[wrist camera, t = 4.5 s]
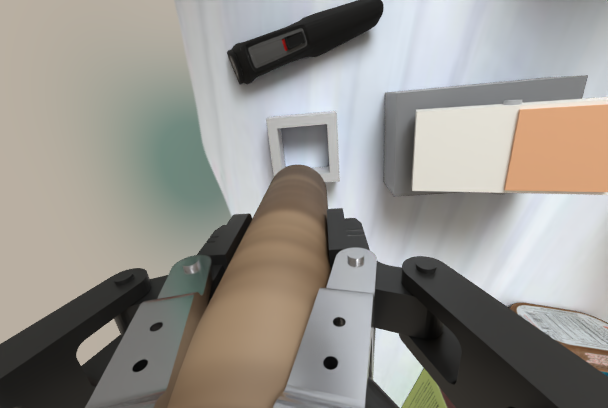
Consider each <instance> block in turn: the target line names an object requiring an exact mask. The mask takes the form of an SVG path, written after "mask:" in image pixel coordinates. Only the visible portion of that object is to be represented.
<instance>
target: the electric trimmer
mask: <svg viewBox="0 0 608 408" xmlns="http://www.w3.org/2000/svg"><path fill="white" fill-rule="evenodd" d="M382 13H383V3H382V1H381V0H358V1H354V2H351V3H348V4H345V5H341V6H338V7H335V8H332V9H328V10H325V11H322V12H319V13H315V14H313V15H310V16H307V17H305V18H303V19H302V20H300V21H298V22H296V23H294V24H292V25H290V26H288V27H285V28H282V29H280V30H277V31H274V32H271V33H268V34H266V35H263V36H260V37H257V38H254V39H252V40H249V41H246V42H243V43H238V44H236V45H235V46H234V47H233V48H232V50H229V51H228V52H227V54H228V57H229V59H230V62H231V64H232V67H233V69H234V72H235V74H236V77H237V80H238V82H239V84H242V83H246V84H249V83H251V82H252V81H253V80H254V79H255V78H256V77H258V76H260V75H262V74H265V73H267V72H269V71H271V70H273V69H276V68H278V67H280V66H283V65H285V64H287V63H290V62H293V61H296V60H299V59H302V58H305V57H316V56H319V55H321V54H323V53H326V52H327V51H329V50H331V49H333V48H335V47H337V46H339V45H341V44H343V43H345V42H347V41H348V40H350V39H352V38H354V37H356V36H358V35H360V34H362V33H364V32H366V31H367V30H369V29H371V28H372V27H374V26H375V25H376V24H377V23H378V21H379V19H380V17H381V15H382ZM235 54H236V55H235ZM241 69H242V70H241Z"/></svg>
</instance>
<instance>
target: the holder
mask: <svg viewBox="0 0 608 408" xmlns="http://www.w3.org/2000/svg"><path fill="white" fill-rule="evenodd" d="M266 122H267V130H268V137H269V144H270V152H271V159H272V167H273V174H274V177H275V175H276V174H277V173H278V172H279V171H280V170H282V169H283V168H285V167H286V166H285V158H284V149H283V141H282V132H281V128H288V127H300V126H312V125H323V124H327V137H328V155H329V166H327V167H313V168H312V169H314V170H315V171H317V172H318V173H319V174H320V175H321V177H322V178H323V180H324V182H339V181H340V178H339V155H338V132H337V113H336V111H329V112H318V113H307V114H295V115H284V116H273V117H269V118H268V119H266Z"/></svg>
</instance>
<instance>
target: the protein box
mask: <svg viewBox="0 0 608 408" xmlns="http://www.w3.org/2000/svg"><path fill="white" fill-rule="evenodd" d="M402 408H456V407H455V406H454V405H453V403H452V402H451V401H450V400H449V398H448V397H447V396H446V395H445V393H444V392H443V391H442V390H441V388H440V387H439V386H438V385H437V383H436V382H435V381H434V380H433V379H432V377H431V376H430V375H429V374H428V372H427V371H426V370H425V369H423V371H422V373H421V375H420V376H419V378H418V380H417V382H416V383H415V385H414V387H413V389H412V390H411V392H410V394H409V396H408V397H407V399H406V401H405V403H404V404H403V406H402Z"/></svg>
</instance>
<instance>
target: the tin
mask: <svg viewBox="0 0 608 408" xmlns="http://www.w3.org/2000/svg"><path fill="white" fill-rule="evenodd" d="M509 309H511V310H512V311H514V312H515V313H517V314H518V315H520V316H521V317H522V318H524V319H525V320H527V321H528V322H530V323H531V324H533V325H534V326H536V327H537V328H538V329H540V330H541V331H543V332H544V333H546V334H547V335H549V336H550V337H551V338H553V339H554V340H556V341H557V342H559V343H560V344H562V345H563V346H564V347H566V348H567V349H569V350H570V351H572V352H573V353H575V354H576V355H577V356H579V357H580V358H582V359H583V360H585V361H586V362H588V363H589V364H591V365H592V366H593V367H595V368H596V369H598V370H599V371H601V372H608V323H607V322H605V321H603V320H600V319H598V318H596V317H593V316H590V315H588V314H585V313H581V312H577V311H571V310H565V309H559V308H553V307H547V306H541V305H535V304H529V303H515V304H513V305H512V306H511V307H510V308H509Z"/></svg>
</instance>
